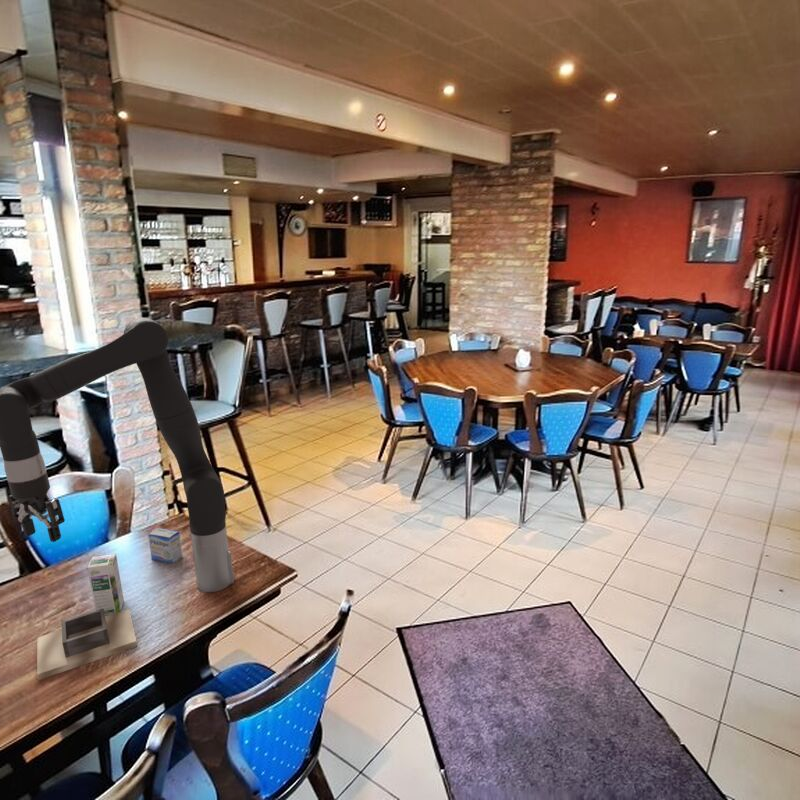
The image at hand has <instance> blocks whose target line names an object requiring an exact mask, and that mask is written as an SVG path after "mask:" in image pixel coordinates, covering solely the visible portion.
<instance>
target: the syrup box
mask: <svg viewBox="0 0 800 800" xmlns="http://www.w3.org/2000/svg"><path fill="white" fill-rule="evenodd" d="M118 564H119V563H118V558H117V553H113V554H108V555H100V556H92V558H91V559H90V561H89V563H88V566H87V572H88V573H87V574H88V580H89V583H90V588H91V593H92V597H93V602H94V603H93V604H94V609H95V610H94V611H96V610H99V609H102V608H104V614H105V616H108V615H111V614H115V613H118V612H121V611H122V608H123V605H124V603H125V602H124V601H125V599H124V598H125V597H124V595H123V594H124V593H123V588H122V587H123V586H122V581H121V574H120V570H119V565H118Z"/></svg>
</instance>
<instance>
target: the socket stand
mask: <svg viewBox="0 0 800 800" xmlns="http://www.w3.org/2000/svg"><path fill="white" fill-rule="evenodd" d="M60 623H61V630H60V629H59V630H58V631H54V632H51V633H47V634H45V635H41V636H38V637H37V644H36V645H37V646H36V647H37V648H36V649H37V652H36V653H37V656H36V657H37V659H36V676H37V680H38V681H40V680H43V679H47V678H49V677H52V676H55V675H58V674H61V673H65V672H67V671H70V670H72V669H75V668H78V667H81V666H83V665H86V664H91V663H93V662H95V661H98V660H101V659H105V658H107V657H110V656H113V655H115V654H119V653H122V652H124V651H128V650H130V649H133V648H136V647H138V642H137V637H136V633H135V630H134V629H135V628H134V625H133V621H132V617H131V612H130V609H129V608H128V609H125V610H121V612H118V613H115V614H111V615H106V616H105V614H104V608H102V609H99V610H96V611H95V610H93V611H90V612H87V613H84V614H80V615H76V616H73V617H70V618H67V619H64V620H61V622H60Z"/></svg>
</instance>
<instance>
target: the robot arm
mask: <svg viewBox="0 0 800 800" xmlns="http://www.w3.org/2000/svg"><path fill="white" fill-rule="evenodd" d="M169 340H170V339H169V334H168V332H167V330H166V329H165V327H164V326H163V325H162V324H160V323H159V322H158V321H155V320H154V319H151V318H147V317H138V318H134V319H132V320H130V321H129V323H127V324H126V326H125V328H124V331H123V333H122V334H121V335H120V336H118V337H117V338H115V339H114V340H112V341H110V342H109V343H107V344H104V345H102V346H100V347H98V348H95V349H92V350H90V351H87V352H84V353H81V354H79V355H75V356H72V357H70V358H67V359H65V360H62V361H60V362H58V363H55V364H53V365H51V366H49V367H47V368H45V369H43V370H41V371H38V372H37V373H35V374H33V375H31V376H28V377H27V376H26V377H24V378H21V379H19V380H17V381H16V380H15V381H13V382H11V383H8V384H6V385H3V386H2V387H0V451H1V452H0V453H1V456H2V459H3V460H2V461H3V466H4V473H5V477H6V480H7V483H8V486H9V487H8V488H9V490H10V495H8V496H7V499H8V503H9V507H10V512H11V516H12V518H13V519H17V521H18V522H20V523H21V526H22V530H23V533H24V536H25V537H30V536H32V535H34V534H35V533H36V528H35V523H34V519H33V518H32V517H33V516H34V517H36V518H37V519H38V521H40V522H43V524H44V525H45V526H46V528H47V529H46V530H47V533H48V537H49V541H50V542H53V543H56V541H58V540H60V539H61V537H62V533H61V530H60V526H59V525H61V524H63V523H64V522H65V516H64V513H63V510H62V507H61V502H60V499H59V498H54V499H50V498H49V497H48V494H47V493H48V492H49V490H50V488H51V485H50V484H51V483H50V480H49V476H48V473H47V468H46V464H45V460H44V458H43V455H42V453H41V449H40V446H39V441H38V438H37V435H36V432H35V431H34V430H33V425H32V421H31V420H32V419H31V416H30V409H32V408H34V407H37V406H39V405H41V404H44V403H45V402H48V403H49V402H50V403H51V402H55V401H57V400H59V399H61V398H64V397H65V396H68V395H69V394H71V393H73V392H75V391H78V390H79V389H81V388H83V387H85V386H87V385H89V384H91V383H93V382H95V381H97V380H98V379H101V378H103V377H105V376H108V375H109V374H111V373H114V372H116V371H119V370H121V369H123V368H126V367H127V368H128V367H129V366H132V365H136V366H137V368H138V370H139V372H140V374H141V376H142V379H143V382H144V385H145V386H144V387H145V390H146V394H147V397H148V401H149V404H150V407H151V410H152V412H153V417H154V418H155V421H156V423H157V426H158V428H159V432H160V433H161V435H162V437H163V439H164V441H165V443H166V444H167V446H168V447H169V449H170V450H171V452H172V454H173V455H174V457H175V459H176V461H177V464H178V467H179V471H180V475H181V479H182V480H181V481H182V484H183V489H184V493H185V497H186V503H187V504H186V505H187V511H188V520H189V522H188V523H189V525H188V526H189V532H190V539H191V548H192V556H193V563H194V570H195V578H196V579H195V580H196V585H197V589H198V590H199V591H200V592H204V593H216V592H219V591H222V590H224V589H226V588H227V587H229V586H230V585H231V584H234V583H235V578H234V569H233V561H232V553H231V550H230V549H229V543H228V542H229V541H228V531H227V525H226V524H227V523H226V518H227V513H226V501H225V500H226V499H225V493H224V487H223V485H222V484H223V483H221V480H220V478H219V476H218V475H217V473H216V471H215V469H214V467H213V466H212V463H211V461H210V460H209V458H208V456H207V454H206V451H205V449H204V448H205V447H204V445H203V441H202V439H203V438H202V434H201V433H202V432H201V429H200V426H199V421H198V418H197V415H196V413H195V410H194V407H193V404H192V402H191V400H190V397H189V395H188V393H187V392H186V390H185V388H184V386H183V384H182V382H181V381H180V379H179V378H178V376H177V374H176V372H175V371H174V368H173V366H172V364H171V360H170V357H169V354H168V350H167V348H168V346H169V342H170V341H169ZM18 509H19V510H18ZM17 510H18V511H17ZM49 520H50V521H49Z"/></svg>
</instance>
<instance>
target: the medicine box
mask: <svg viewBox="0 0 800 800" xmlns="http://www.w3.org/2000/svg"><path fill="white" fill-rule="evenodd" d="M148 543H149V549H150V557H151V560H152V561H158V562H162V563H163V562H165V563H168V564H169V563H170V564H174V563H175V562H177V561H178V560H179V559H181V558H182V557H183V550H182V541H181V536H180V531H178V530H171V529H167V528H161V527H157V528H155V529H154V530H152V531H151V532H150V533H148Z"/></svg>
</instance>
